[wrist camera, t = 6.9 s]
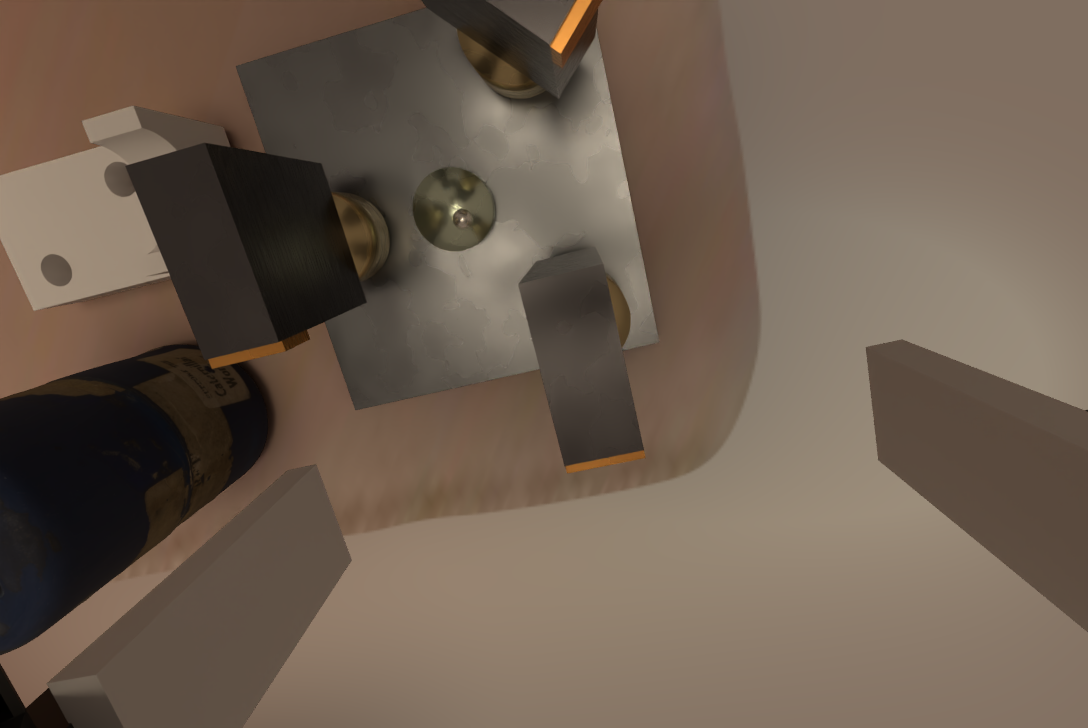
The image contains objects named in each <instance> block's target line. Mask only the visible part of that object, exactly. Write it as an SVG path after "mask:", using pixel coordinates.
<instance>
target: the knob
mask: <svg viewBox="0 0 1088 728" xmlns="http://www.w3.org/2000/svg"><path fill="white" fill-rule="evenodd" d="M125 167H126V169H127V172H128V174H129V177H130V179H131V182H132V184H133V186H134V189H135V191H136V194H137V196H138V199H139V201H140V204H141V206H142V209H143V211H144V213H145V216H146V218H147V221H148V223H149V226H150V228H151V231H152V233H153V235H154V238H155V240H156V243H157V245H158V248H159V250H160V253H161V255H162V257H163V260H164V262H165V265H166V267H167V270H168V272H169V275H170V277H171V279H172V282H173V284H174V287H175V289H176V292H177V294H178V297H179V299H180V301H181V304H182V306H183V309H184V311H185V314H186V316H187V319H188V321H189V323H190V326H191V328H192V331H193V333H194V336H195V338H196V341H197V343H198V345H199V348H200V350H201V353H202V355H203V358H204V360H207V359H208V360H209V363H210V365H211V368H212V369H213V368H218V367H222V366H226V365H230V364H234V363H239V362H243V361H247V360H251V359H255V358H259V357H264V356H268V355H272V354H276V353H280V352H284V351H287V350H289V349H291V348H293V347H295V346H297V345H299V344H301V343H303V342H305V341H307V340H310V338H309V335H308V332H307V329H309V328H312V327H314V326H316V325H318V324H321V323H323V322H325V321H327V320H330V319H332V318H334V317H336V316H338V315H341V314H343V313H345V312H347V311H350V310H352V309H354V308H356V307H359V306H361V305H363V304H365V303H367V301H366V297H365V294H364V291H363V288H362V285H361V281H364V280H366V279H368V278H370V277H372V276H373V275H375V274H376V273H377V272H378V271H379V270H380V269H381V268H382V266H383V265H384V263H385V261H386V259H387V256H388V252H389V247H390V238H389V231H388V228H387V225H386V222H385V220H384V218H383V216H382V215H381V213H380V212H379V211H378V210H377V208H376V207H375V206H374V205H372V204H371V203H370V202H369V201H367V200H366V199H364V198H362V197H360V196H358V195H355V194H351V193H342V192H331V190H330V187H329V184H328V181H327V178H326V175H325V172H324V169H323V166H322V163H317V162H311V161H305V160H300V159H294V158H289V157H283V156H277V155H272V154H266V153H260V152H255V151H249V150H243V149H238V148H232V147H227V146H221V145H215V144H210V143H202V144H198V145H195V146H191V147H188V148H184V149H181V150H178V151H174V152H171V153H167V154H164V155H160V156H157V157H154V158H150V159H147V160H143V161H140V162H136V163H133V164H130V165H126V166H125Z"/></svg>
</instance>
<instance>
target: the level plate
mask: <svg viewBox="0 0 1088 728" xmlns="http://www.w3.org/2000/svg"><path fill="white" fill-rule="evenodd" d="M236 68H237V71H238V74H239V77H240V80H241V83H242V86H243V89H244V91H245V94H246V97H247V100H248V103H249V106H250V109H251V111H252V114H253V117H254V120H255V123H256V126H257V129H258V132H259V134H260V137H261V140H262V143H263V146H264V149H265V152H266V154H272V155H277V156H283V157H289V158H294V159H300V160H305V161H311V162H317V163H322V166H323V169H324V172H325V175H326V178H327V181H328V184H329V187H330V190H331V192H342V193H351V194H355V195H358V196H360V197H362V198H364V199H366V200H367V201H369V202H370V203H371V204H372V205H374V206H375V207H376V208H377V210H378V211H379V212H380V213H381V215H382V216H383V218H384V220H385V222H386V225H387V228H388V231H389V238H390V247H389V252H388V256H387V259H386V261H385V263H384V265H383V266H382V268H381V269H380V270H379V271H378V272H377V273H376V274H375V275H373V276H372V277H370V278H368V279H366V280H364V281H361V285H362V288H363V291H364V294H365V297H366V301H367V303H365V304H363V305H361V306H359V307H356V308H354V309H352V310H350V311H347V312H345V313H343V314H341V315H338V316H336V317H334V318H332V319H330V320H327V321H325V324H326V327H327V330H328V333H329V336H330V338H331V341H332V344H333V347H334V350H335V353H336V356H337V358H338V361H339V364H340V367H341V370H342V373H343V376H344V379H345V381H346V384H347V387H348V390H349V393H350V396H351V399H352V402H353V404H354V407H355V410H359V409H363V408H368V407H372V406H377V405H381V404H386V403H390V402H395V401H399V400H404V399H408V398H412V397H417V396H421V395H426V394H430V393H435V392H439V391H444V390H448V389H453V388H457V387H462V386H466V385H471V384H475V383H480V382H484V381H489V380H493V379H498V378H502V377H507V376H511V375H516V374H520V373H525V372H529V371H534V370H538V369H540V368H539V364H538V360H537V357H536V353H535V349H534V345H533V341H532V337H531V333H530V329H529V326H528V322H527V318H526V314H525V310H524V306H523V302H522V298H521V294H520V291H519V287H518V284H519V282H520V281H521V280H522V278H523V277H524V276H525V275H526V273H527V272H528V271H529V269H530V268H531V267H532V266H533V264H534V263H535V262H536V261H538V260H543V259H547V258H551V257H555V256H559V255H563V254H567V253H571V252H575V251H579V250H583V249H587V248H591V247H596V249H597V251H598V254H599V256H600V258H601V260H602V262H603V264H604V269H605V272H606V273H607V274H608V275H610V276H611V277H612V278H613V279H614V280H615V282H616V283H617V284H618V286H619V288H620V289H621V291H622V293H623V295H624V297H625V299H626V301H627V303H628V306H629V310H630V316H631V324H630V331H629V334H628V337H627V340H626V342H625V344H624V345H623V347H622V351H623V350H628V349H632V348H637V347H641V346H646V345H650V344H655V343H659V338H658V333H657V328H656V323H655V318H654V313H653V308H652V303H651V298H650V293H649V288H648V283H647V278H646V273H645V268H644V263H643V258H642V253H641V248H640V243H639V238H638V233H637V228H636V223H635V218H634V213H633V208H632V203H631V198H630V193H629V188H628V183H627V178H626V173H625V168H624V163H623V158H622V153H621V148H620V143H619V138H618V133H617V128H616V123H615V118H614V113H613V108H612V103H611V98H610V93H609V88H608V83H607V78H606V73H605V68H604V63H603V58H602V53H601V48H600V43H599V38H598V33H597V28H596V34H595V38H594V40H593V42H592V43H591V45H590V47H589V48H588V50H587V52H586V54H585V55H584V57H583V59H582V60H581V62H580V64H579V65H578V67H577V69H576V71H575V72H574V74H573V76H572V77H571V79H570V81H569V82H568V84H567V86H566V87H565V89H564V91H563V93H562V94H561V96H560V98H559V99H558V98H557V97H555V96H554V95H552V94H551V93H550V92H548V91H547V90H546V91H544V92H543V93H541V94H539V95H537V96H534V97H531V98H526V99H514V98H509V97H505V96H503V95H500V94H499V93H497V92H495V91H494V90H492V89H491V88H490V87H489V86H488V85H487V84H486V83H485V82H484V81H483V79H482V78H481V77H480V75H479V74H478V73H477V71H476V70H475V69H474V67H473V66H472V65H471V63H470V62H469V60H468V59H467V57H466V56H465V54H464V52H463V50H462V47H461V45H460V42H459V38H458V33H457V29H456V28H455V27H453V26H452V25H451V24H449V23H448V22H446V21H445V20H443V19H442V18H440V17H439V16H437V15H436V14H434V13H433V12H432V11H430V10H429V9H428V8H424V9H421V10H417V11H414V12H411V13H408V14H404V15H401V16H398V17H395V18H391V19H388V20H385V21H381V22H378V23H375V24H372V25H368V26H365V27H362V28H359V29H355V30H352V31H349V32H346V33H342V34H339V35H336V36H333V37H329V38H326V39H323V40H320V41H316V42H313V43H310V44H306V45H303V46H300V47H297V48H293V49H290V50H287V51H284V52H280V53H277V54H274V55H271V56H267V57H264V58H261V59H258V60H254V61H251V62H248V63H245V64H241V65H238V66H236Z"/></svg>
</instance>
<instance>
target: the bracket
mask: <svg viewBox="0 0 1088 728" xmlns="http://www.w3.org/2000/svg"><path fill="white" fill-rule="evenodd" d="M82 124H83V126H84V128H85V131H86V133H87V136H88V138H89V141H90V143H93V144H97V145H100V147H97V148H93V149H90V150H86V151H83V152H79V153H76V154H72V155H69V156H66V157H62V158H59V159H55V160H52V161H48V162H45V163H41V164H38V165H34V166H31V167H28V168H24V169H21V170H17V171H14V172H10V173H7V174H3V175H0V240H1V242H2V244H3V246H4V248H5V250H6V252H7V255H8V257H9V259H10V261H11V263H12V265H13V267H14V269H15V272H16V274H17V276H18V278H19V280H20V282H21V284H22V287H23V289H24V291H25V293H26V295H27V297H28V299H29V302H30V304H31V306H32V308H33V310H34V311H35V310H41V309H46V308H52V307H57V306H62V305H68V304H73V303H79V302H84V301H88V300H91V299H95V298H99V297H103V296H107V295H111V294H115V293H119V292H123V291H127V290H131V289H135V288H138V287H142V286H146V285H150V284H154V283H158V282H162V281H166V280H170V279H171V277H170V275H169V272H168V270H167V267H166V265H165V262H164V260H163V257H162V255H161V253H160V250H159V248H158V245H157V243H156V240H155V238H154V235H153V233H152V231H151V228H150V226H149V223H148V221H147V218H146V216H145V213H144V211H143V209H142V206H141V204H140V201H139V199H138V196H137V194H136V191H135V189H134V186H133V184H132V182H131V179H130V177H129V174H128V172H127V169H126V167H125V166H126V165H130V164H133V163H136V162H140V161H143V160H147V159H150V158H154V157H157V156H160V155H164V154H167V153H171V152H174V151H178V150H181V149H184V148H188V147H191V146H195V145H198V144H202V143H210V144H215V145H221V146H227V147H230V144H229V141H228V138H227V136H226V133H225V130H224V127H222V126H218V125H213V124H209V123H205V122H201V121H196V120H192V119H188V118H184V117H179V116H175V115H171V114H167V113H162V112H158V111H154V110H150V109H145V108H141V107H137V106H130V107H127V108H124V109H120V110H117V111H113V112H110V113H107V114H103V115H100V116H97V117H93V118H90V119H87V120H83V121H82Z"/></svg>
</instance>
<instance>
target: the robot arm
mask: <svg viewBox="0 0 1088 728" xmlns="http://www.w3.org/2000/svg"><path fill="white" fill-rule="evenodd" d="M866 353H867V362H868V371H869V380H870V389H871V398H872V407H873V416H874V425H875V434H876V443H877V452H878V460H879V461H880V462H881V463H882V464H884V465H885V466H886V467H887V468H889V469H890V470H891V471H892V472H894V473H895V474H896V475H897V476H898V477H900V478H901V479H902V480H904V482H906V483H907V484H908V485H909V486H911V487H912V488H913V489H914V490H915V491H917V492H918V493H919V494H920V495H921V496H923V497H924V498H925V499H927V500H928V501H929V502H930V503H931V504H932V505H934V506H935V507H936V508H937V509H939V510H940V511H941V512H942V513H943V514H945V515H946V516H947V517H948V518H949V519H951V520H952V521H953V522H954V523H956V524H957V525H958V526H959V527H960V528H962V529H963V530H964V531H965V532H966V533H968V534H969V535H970V536H971V537H973V538H974V539H975V540H976V541H977V542H979V543H980V544H981V545H982V546H984V547H985V548H986V549H987V550H988V551H990V552H991V553H992V554H993V555H995V556H996V557H997V558H998V559H999V560H1001V561H1002V562H1003V563H1004V564H1006V565H1007V566H1008V567H1009V568H1010V569H1012V570H1013V571H1014V572H1015V573H1016V574H1018V575H1019V576H1020V577H1021V578H1022V579H1024V580H1025V581H1026V582H1027V583H1029V584H1030V585H1031V586H1032V587H1034V588H1035V589H1036V590H1037V591H1038V592H1040V593H1041V594H1042V595H1043V596H1045V597H1046V598H1047V599H1048V600H1049V601H1050V602H1052V603H1053V604H1054V605H1056V606H1057V607H1058V608H1059V609H1060V610H1061V611H1063V612H1064V613H1065V614H1066V615H1067V616H1069V617H1070V618H1071V619H1072V620H1074V621H1075V622H1076V623H1077V624H1079V625H1080V626H1081V627H1082V628H1083V629H1085V630H1086V631H1087V632H1088V410H1082V409H1079V408H1077V407H1074V406H1071V405H1069V404H1067V403H1064V402H1061V401H1059V400H1056V399H1054V398H1051V397H1048V396H1045V395H1043V394H1041V393H1038V392H1036V391H1033V390H1030V389H1027V388H1025V387H1023V386H1020V385H1018V384H1015V383H1013V382H1010V381H1007V380H1005V379H1002V378H999V377H997V376H994V375H992V374H989V373H987V372H984V371H982V370H979V369H977V368H974V367H971V366H969V365H966V364H964V363H961V362H958V361H956V360H953V359H951V358H948V357H946V356H943V355H940V354H938V353H935V352H933V351H930V350H928V349H925V348H922V347H920V346H917V345H915V344H912V343H910V342H907V341H904V340H897V341H893V342H888V343H883V344H879V345H874V346H870V347H866ZM350 562H351V557H350V554H349V552H348V549H347V546H346V543H345V541H344V538H343V535H342V533H341V530H340V527H339V524H338V522H337V519H336V516H335V514H334V511H333V508H332V506H331V503H330V500H329V497H328V495H327V492H326V489H325V487H324V484H323V481H322V479H321V476H320V473H319V470H318V468H317V465H316V464H315V465H310V466H306V467H301V468H296V469H292V470H288V471H286V472H285V473H284V474H283V475H282V476H281V477H280V478H279V479H277V480H276V481H275V482H274V483H273V484H272V485H271V486H269V487H268V488H267V489H266V490H265V491H264V492H263V493H262V494H260V495H259V496H258V497H257V498H256V499H255V500H254V501H253V502H251V503H250V504H249V505H248V506H247V507H246V508H245V509H243V510H242V511H241V512H240V513H239V514H238V515H237V516H236V517H234V518H233V519H232V520H231V521H230V522H229V523H228V524H226V525H225V526H224V527H223V528H222V529H221V530H220V531H219V532H217V533H216V534H215V535H214V536H213V537H212V538H211V539H210V540H208V541H207V542H206V543H205V544H204V545H203V546H202V547H200V548H199V549H198V550H197V551H196V552H195V553H194V554H193V555H191V556H190V557H189V558H188V559H187V560H186V561H185V562H183V563H182V564H181V565H180V566H179V567H178V568H177V569H176V570H174V571H173V572H172V573H171V574H170V575H169V576H168V577H167V578H166V579H164V580H163V581H162V582H161V583H160V584H159V585H158V586H156V587H155V588H154V589H153V590H152V591H151V592H150V593H148V594H147V595H146V596H145V597H144V598H143V599H142V600H140V601H139V602H138V603H137V604H136V605H135V606H134V607H133V608H131V609H130V610H129V611H128V612H127V613H126V614H125V615H124V616H122V617H121V618H120V619H119V620H118V621H117V622H116V623H115V624H113V625H112V626H111V627H110V628H109V629H108V630H107V631H105V633H103V634H102V635H101V636H100V637H99V638H98V639H97V640H95V641H94V642H93V643H92V644H91V645H90V646H88V647H87V648H86V649H85V650H84V651H83V652H82V653H81V654H80V655H78V656H77V657H76V658H75V659H74V660H73V661H71V662H70V663H69V664H68V665H67V666H66V667H65V668H64V669H62V670H61V671H60V672H59V673H58V674H57V675H56V676H54V677H53V678H52V679H51V680H50V681H49V682H48V683H47V685H48V687H49V688H48V689H47V690H46V691H45V692H43V693H42V694H41V695H40V696H39V697H38V698H37V699H36V700H35V701H34V702H32V703H31V704H30V705H29V706H28V707H27V708H25V706H24V705H23V703H22V701H21V699H20V697H19V696H18V694H17V692H16V691H15V689H14V687H13V685H12V684H11V682H10V680H9V678H8V676H7V675H6V673H5V671H4V669H3V668H2V666H1V664H0V728H242V727H243V726H244V724H245V723H246V721H247V720H248V718H249V717H250V715H251V714H252V712H253V710H254V709H255V708H256V706H257V705H258V703H259V701H260V700H261V698H262V697H263V695H264V694H265V692H266V690H267V689H268V688H269V686H270V684H271V683H272V682H273V680H274V678H275V677H276V675H277V674H278V672H279V671H280V669H281V668H282V666H283V665H284V663H285V662H286V660H287V658H288V657H289V656H290V654H291V652H292V651H293V649H294V648H295V646H296V645H297V643H298V642H299V640H300V639H301V637H302V635H303V634H304V633H305V631H306V629H307V628H308V626H309V625H310V623H311V622H312V620H313V619H314V617H315V616H316V614H317V612H318V611H319V609H320V608H321V607H322V605H323V604H324V602H325V600H326V599H327V597H328V596H329V594H330V593H331V591H332V589H333V588H334V587H335V585H336V583H337V582H338V581H339V579H340V577H341V576H342V574H343V573H344V571H345V570H346V568H347V567H348V565H349V564H350Z"/></svg>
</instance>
